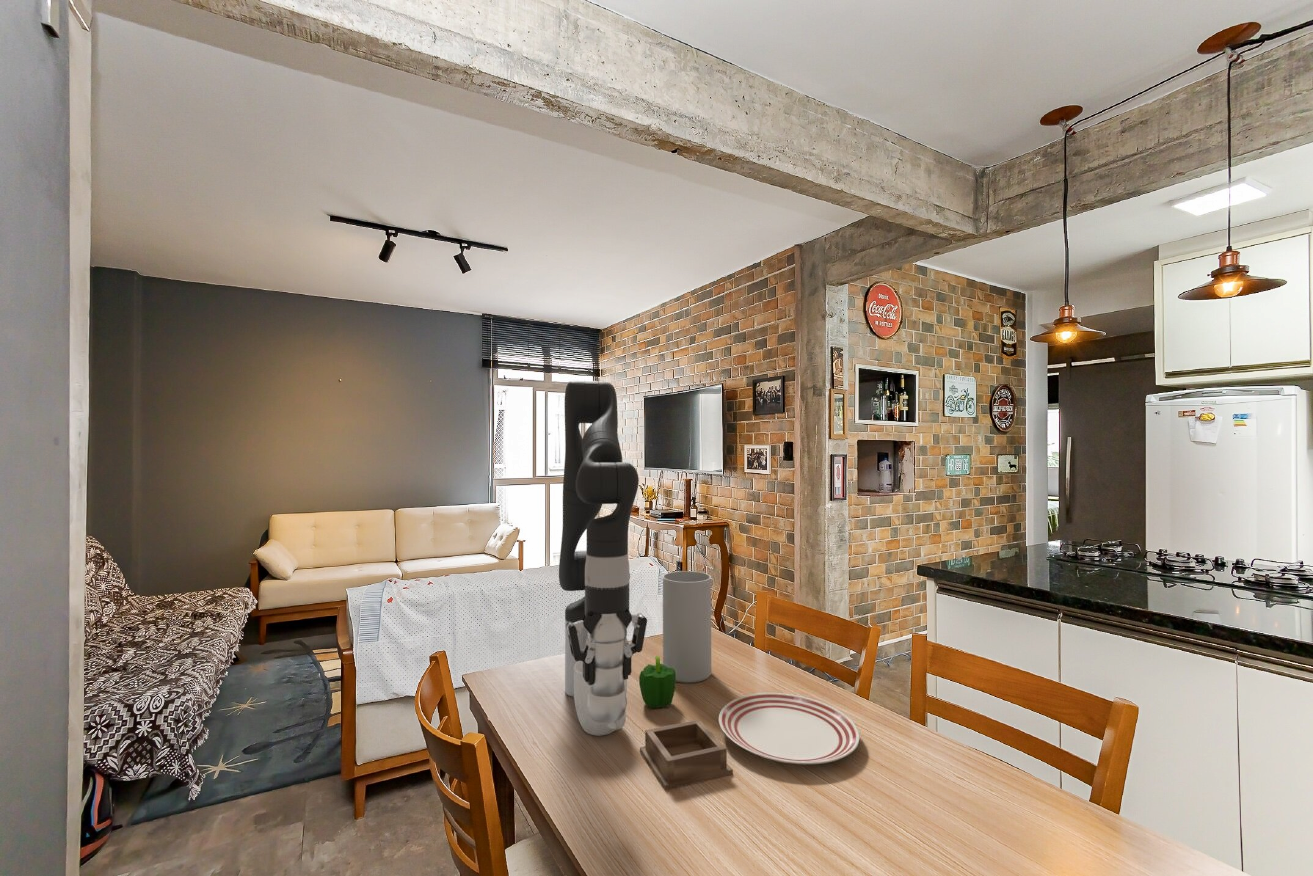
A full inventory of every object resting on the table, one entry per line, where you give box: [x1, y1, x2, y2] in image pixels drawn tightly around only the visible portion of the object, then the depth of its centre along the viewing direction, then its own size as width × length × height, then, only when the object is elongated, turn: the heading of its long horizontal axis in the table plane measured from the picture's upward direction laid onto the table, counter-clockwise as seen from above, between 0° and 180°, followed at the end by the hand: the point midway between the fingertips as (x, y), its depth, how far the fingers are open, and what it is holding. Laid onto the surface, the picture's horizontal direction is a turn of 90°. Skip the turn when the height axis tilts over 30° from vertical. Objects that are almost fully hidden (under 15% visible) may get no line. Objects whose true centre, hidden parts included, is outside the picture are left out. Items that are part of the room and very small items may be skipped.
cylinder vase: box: [662, 570, 712, 684], centre depth 145 cm, size 12×12×25 cm
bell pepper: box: [638, 655, 676, 709], centre depth 128 cm, size 8×8×10 cm
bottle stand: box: [639, 719, 734, 791], centre depth 104 cm, size 13×13×4 cm
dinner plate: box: [718, 692, 860, 765], centre depth 113 cm, size 27×27×3 cm
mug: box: [573, 661, 628, 737], centre depth 115 cm, size 15×11×13 cm
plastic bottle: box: [587, 613, 628, 723], centre depth 95 cm, size 6×7×20 cm
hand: (607, 680), depth 95 cm, fingers closed on plastic bottle, 5 cm apart
